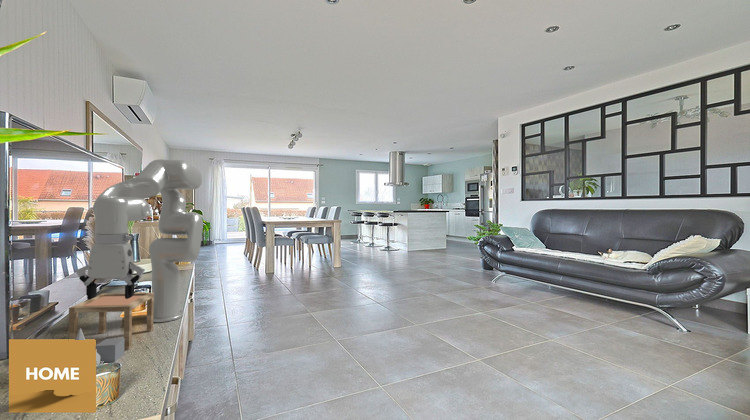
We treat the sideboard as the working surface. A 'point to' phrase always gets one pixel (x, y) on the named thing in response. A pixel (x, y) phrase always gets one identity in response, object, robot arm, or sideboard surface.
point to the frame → (119, 308)
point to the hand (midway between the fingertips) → (110, 297)
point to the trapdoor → (113, 301)
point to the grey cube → (111, 349)
